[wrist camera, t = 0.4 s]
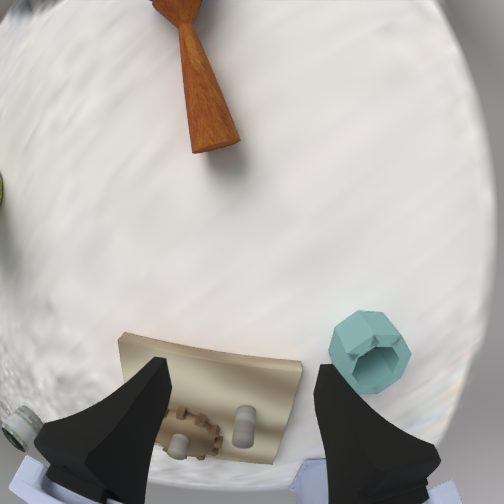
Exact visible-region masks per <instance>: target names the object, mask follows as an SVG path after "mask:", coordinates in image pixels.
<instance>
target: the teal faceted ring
mask: <svg viewBox="0 0 504 504" xmlns="http://www.w3.org/2000/svg"><path fill="white" fill-rule="evenodd" d="M374 347H377V349H375V350H374V351H372V352H371V353H370V354H368V355H367V356H365V357H364V358H359V357H361V356H362V355H364V354H365V353H367V352H368V351H370V350H371V349H372V348H374ZM329 353H330V356H331V359H332V362H333V365H334V366H335V367H336V368H337V370H338V371H339V372H340V373H341V375H342V376H343V377H344V378H345V380H346V381H347V382H348V383H349V385H350V386H351V387H352V388H353V389H354V390H355V391H356V393H357V394H377V393H379V392H381V391H382V390H384V389H385V388H387V387H388V386H390V385H391V384H393V383H394V382H395V381H397V380H398V379H400V378H401V377H402V374H403V372H404V370H405V368H406V365H407V363H408V361H409V359H410V356H411V352H410V350H409V348H408V346H407V345H406V343H405V341H404V339H403V337H402V335H401V334H400V333H399V332H398V330H397V329H396V328H395V327H394V325H393V324H392V323H391V322H390V321H389V319H388V318H387V317H386V316H385V315H384V313H383V312H370V311H357V312H356V313H354V314H353V315H351V316H350V317H349V318H347V319H346V320H344V321H343V322H341V323H340V324H339V325H337V326H336V327H335V329H334V333H333V336H332V340H331V343H330V347H329Z"/></svg>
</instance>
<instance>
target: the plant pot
mask: <svg viewBox="0 0 504 504" xmlns="http://www.w3.org/2000/svg"><path fill="white" fill-rule="evenodd" d="M1 199H2V179H1V177H0V203H1Z"/></svg>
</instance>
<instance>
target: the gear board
mask: <svg viewBox="0 0 504 504" xmlns="http://www.w3.org/2000/svg"><path fill="white" fill-rule="evenodd" d="M118 347H119V354H120V360H121V366H122V372H123V378H124V383H126V382H127V381H128V380H129V379H131V378H132V377H133V376H134V375H135V374H136V373H137V372H138V371H139V370H140V369H141V368H143V367H144V366H145V365H146V364H147V363H148V362H149V361H150V360H151V359H152V358H153V357H154V356H155V357H162V358H166V359H167V364H168V369H169V374H170V378H171V383H172V392H171V396H170V401H169V405H168V408H167V410H166V413H165V416H164V419H163V421H162V424H161V426H160V429H159V432H158V435H157V437H156V440H155V443H154V445H158V446H162V447H164V448H163V451H165V452H167V454H168V455H169V456H170V457H172V458H174V459H177V460H183V459H187V456H191V457H196V458H197V459H198V460H204V459H205V456H206V457H211V458H217V459H224V460H231V461H238V462H247V463H258V464H272V465H273V462H274V459H275V456H276V454H277V451H278V448H279V445H280V442H281V439H282V436H283V433H284V430H285V427H286V424H287V421H288V418H289V415H290V411H291V408H292V405H293V402H294V398H295V395H296V391H297V388H298V385H299V381H300V377H301V374H302V367H301V361H292V360H281V359H271V358H262V357H254V356H246V355H238V354H231V353H225V352H218V351H212V350H206V349H200V348H195V347H189V346H184V345H179V344H174V343H169V342H165V341H160V340H156V339H151V338H147V337H143V336H138V335H134V334H130V333H127V332H124V333H123V335H122V336H121V337H120V338H119V339H118Z"/></svg>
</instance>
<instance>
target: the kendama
mask: <svg viewBox="0 0 504 504" xmlns="http://www.w3.org/2000/svg"><path fill="white" fill-rule="evenodd" d="M150 1H152V2H153V3H152V5H153V7H154V8H155V9H156V10H157V11H158V12H159V13H161V14H162V15H163V16H164V17H165V18H167V19H168V20H169V21H170V22H171V23H172V24H173V25H175V26H176V27H177V28H178V29H179V41H180V53H181V63H182V73H183V83H184V92H185V101H186V109H187V117H188V125H189V133H190V140H191V147H192V153H194V154H196V153H202V152H207V151H211V150H214V149H218V148H222V147H225V146H229V145H232V144H235V143H237V142H239V141H241V140H240V138H239V135H238V133H237V130H236V127H235V125H234V122H233V120H232V117H231V115H230V112H229V110H228V107H227V105H226V102H225V100H224V97H223V95H222V93H221V90H220V88H219V85H218V83H217V80H216V78H215V76H214V73H213V71H212V68H211V66H210V64H209V61H208V59H207V57H206V54H205V52H204V49H203V47H202V45H201V42H200V40H199V38H198V36H197V33H196V31H195V29H194V26H193V23H194V21H195V18H196V15H197V12H198V10H199V7H200V4H201V2H202V0H150Z"/></svg>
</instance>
